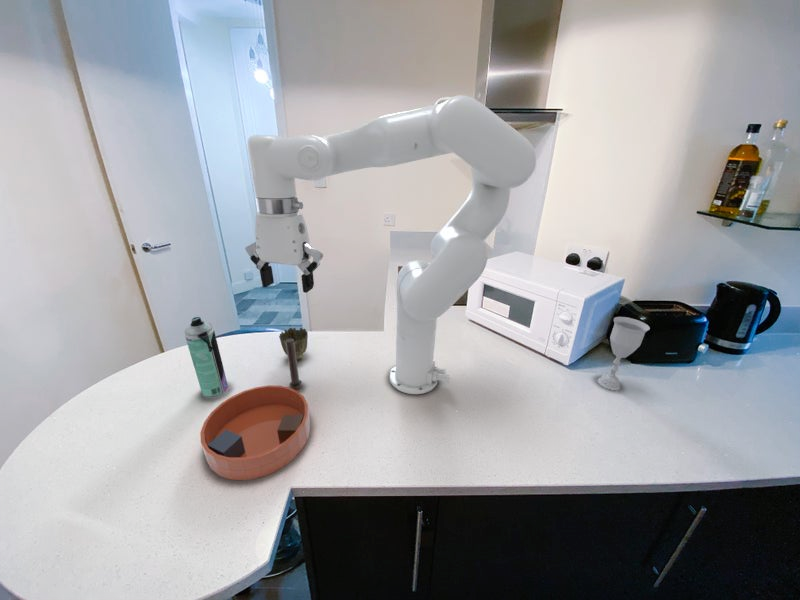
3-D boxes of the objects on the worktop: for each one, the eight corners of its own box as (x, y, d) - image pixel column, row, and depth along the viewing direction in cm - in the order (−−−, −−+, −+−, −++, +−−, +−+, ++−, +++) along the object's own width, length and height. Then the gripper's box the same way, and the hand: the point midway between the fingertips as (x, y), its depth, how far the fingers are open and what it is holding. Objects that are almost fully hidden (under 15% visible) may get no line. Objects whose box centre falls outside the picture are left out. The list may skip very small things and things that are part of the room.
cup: (313, 351, 93) (311, 327, 89) (304, 366, 86) (301, 341, 83) (289, 349, 93) (286, 326, 90) (278, 364, 87) (274, 339, 83)
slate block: (245, 451, 60) (241, 436, 59) (227, 468, 57) (223, 453, 55) (230, 444, 62) (226, 429, 60) (212, 460, 58) (207, 445, 57)
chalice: (589, 383, 83) (610, 323, 75) (596, 372, 87) (616, 314, 80) (622, 396, 78) (647, 334, 71) (627, 384, 83) (652, 324, 75)
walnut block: (305, 429, 66) (303, 414, 64) (300, 445, 62) (298, 430, 60) (286, 429, 65) (283, 414, 64) (279, 445, 62) (277, 430, 60)
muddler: (304, 386, 79) (298, 338, 73) (298, 393, 76) (291, 344, 70) (294, 384, 79) (287, 336, 73) (288, 391, 77) (280, 342, 71)
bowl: (326, 413, 70) (324, 394, 68) (275, 494, 53) (270, 472, 51) (251, 397, 75) (247, 378, 72) (182, 467, 57) (174, 446, 55)
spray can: (233, 387, 78) (216, 315, 69) (215, 402, 73) (194, 326, 65) (216, 382, 79) (197, 311, 71) (197, 396, 74) (174, 321, 66)
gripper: (327, 206, 63) (332, 286, 70) (251, 201, 67) (263, 277, 74) (308, 212, 56) (316, 299, 63) (225, 206, 60) (241, 289, 67)
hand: (288, 287), depth 68 cm, fingers open, 9 cm apart
